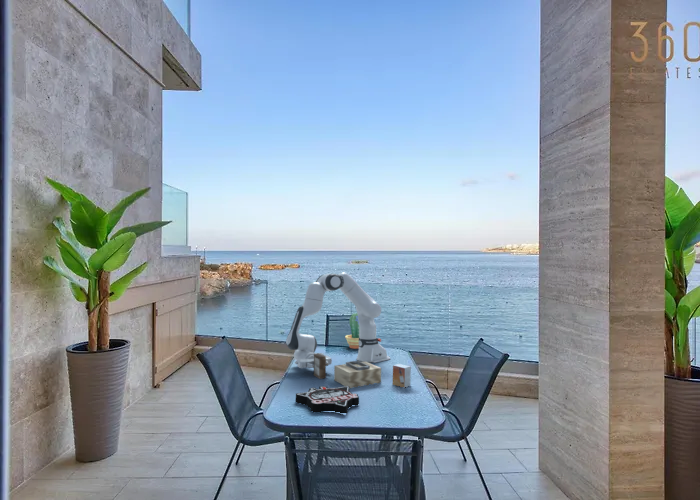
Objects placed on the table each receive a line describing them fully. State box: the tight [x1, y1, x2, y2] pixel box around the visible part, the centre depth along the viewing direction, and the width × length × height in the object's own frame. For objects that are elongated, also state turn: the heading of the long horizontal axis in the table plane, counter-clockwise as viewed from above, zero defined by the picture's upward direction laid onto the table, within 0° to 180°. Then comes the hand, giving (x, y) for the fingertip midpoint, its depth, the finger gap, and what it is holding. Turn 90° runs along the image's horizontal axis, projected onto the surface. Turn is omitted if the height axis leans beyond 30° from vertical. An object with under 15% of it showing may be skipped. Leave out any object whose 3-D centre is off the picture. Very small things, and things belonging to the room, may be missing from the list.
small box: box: [392, 363, 412, 389], centre depth 231 cm, size 8×6×10 cm
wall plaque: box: [295, 385, 360, 414], centre depth 201 cm, size 28×4×30 cm
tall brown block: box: [313, 354, 327, 380], centre depth 245 cm, size 4×8×12 cm, turn 31°
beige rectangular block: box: [333, 360, 382, 389], centre depth 237 cm, size 20×16×10 cm
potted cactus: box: [344, 312, 359, 350], centre depth 322 cm, size 16×15×25 cm
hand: (320, 365), depth 245 cm, fingers open, 8 cm apart
